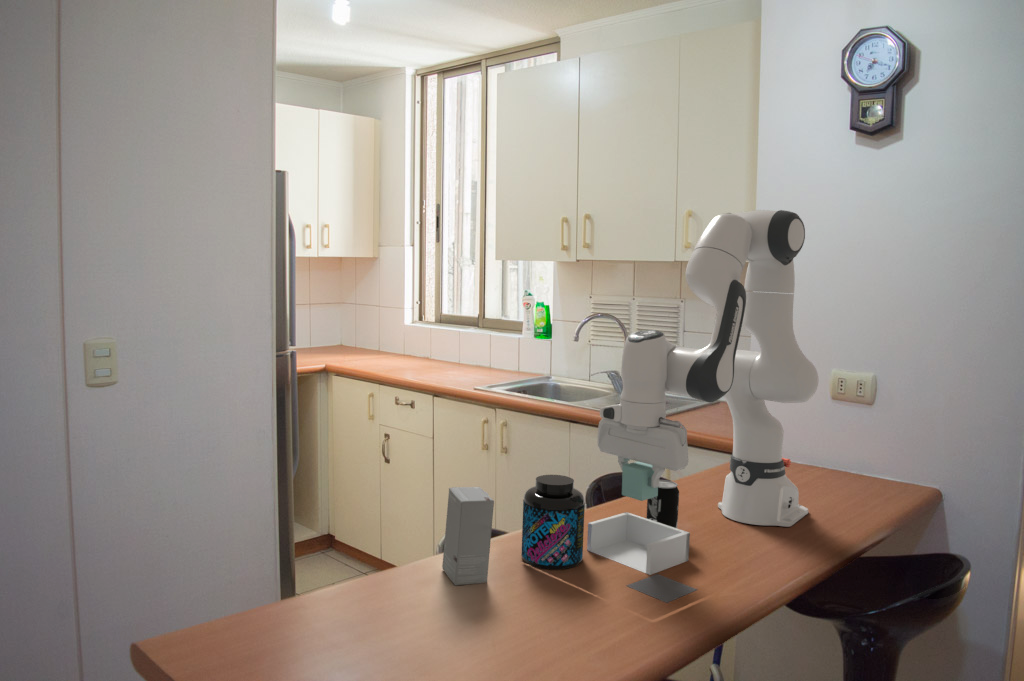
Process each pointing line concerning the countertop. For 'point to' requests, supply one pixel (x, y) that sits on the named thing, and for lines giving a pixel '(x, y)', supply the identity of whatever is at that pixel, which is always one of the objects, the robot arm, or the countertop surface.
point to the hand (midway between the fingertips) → (640, 482)
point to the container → (553, 523)
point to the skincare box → (468, 535)
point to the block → (638, 481)
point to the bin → (638, 542)
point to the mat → (662, 588)
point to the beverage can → (664, 504)
